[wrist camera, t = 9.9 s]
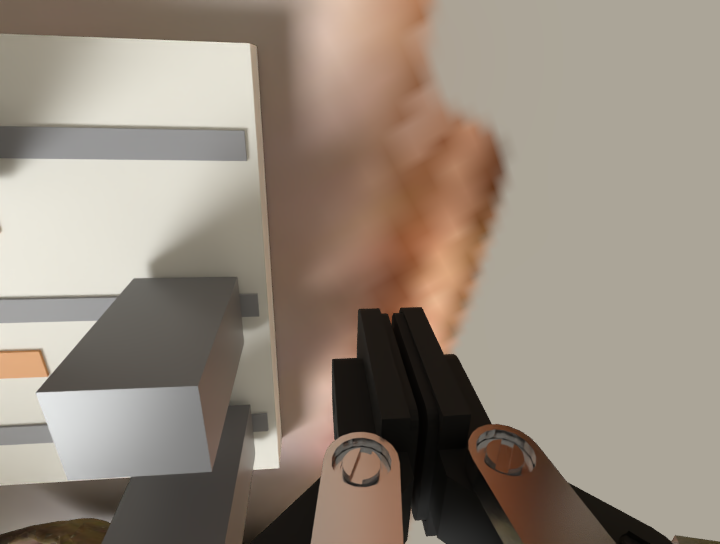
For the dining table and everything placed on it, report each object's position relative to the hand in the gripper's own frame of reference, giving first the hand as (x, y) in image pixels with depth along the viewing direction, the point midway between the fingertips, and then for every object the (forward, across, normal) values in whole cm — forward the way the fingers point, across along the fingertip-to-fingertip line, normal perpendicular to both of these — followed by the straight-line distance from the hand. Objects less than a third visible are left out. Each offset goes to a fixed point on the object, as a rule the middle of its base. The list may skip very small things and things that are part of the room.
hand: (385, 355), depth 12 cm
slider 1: (+3, +6, 0) cm, 6 cm away
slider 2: (+3, +6, +5) cm, 8 cm away
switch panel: (+5, +9, 0) cm, 10 cm away
